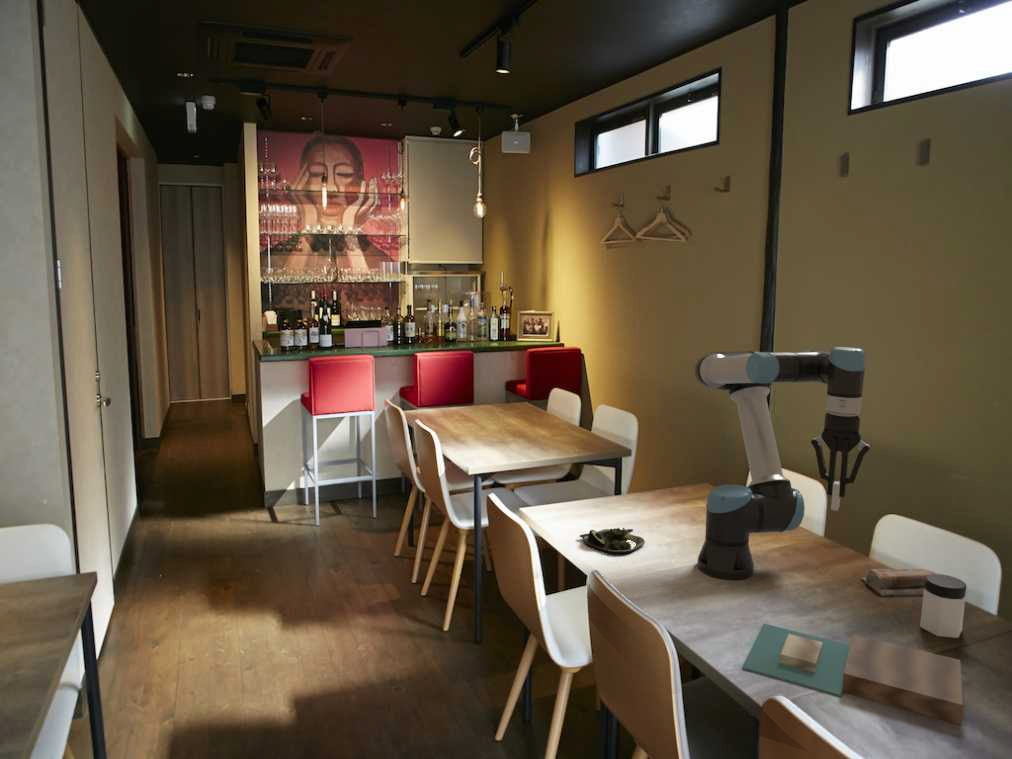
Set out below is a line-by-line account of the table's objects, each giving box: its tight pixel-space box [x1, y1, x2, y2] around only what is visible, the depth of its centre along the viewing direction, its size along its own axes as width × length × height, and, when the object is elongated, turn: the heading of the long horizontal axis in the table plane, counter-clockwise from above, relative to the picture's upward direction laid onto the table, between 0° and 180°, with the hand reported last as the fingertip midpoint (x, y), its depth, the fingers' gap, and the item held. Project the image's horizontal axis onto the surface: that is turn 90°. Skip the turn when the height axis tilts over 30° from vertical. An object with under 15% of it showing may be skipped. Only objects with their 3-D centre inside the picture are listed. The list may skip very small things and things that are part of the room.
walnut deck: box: [842, 634, 964, 726], centre depth 144 cm, size 20×18×4 cm
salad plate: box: [579, 527, 646, 556], centre depth 219 cm, size 19×18×5 cm
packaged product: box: [860, 568, 936, 597], centre depth 189 cm, size 18×5×10 cm
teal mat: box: [741, 623, 850, 697], centre depth 154 cm, size 19×22×1 cm
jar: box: [919, 573, 967, 639], centre depth 166 cm, size 9×8×12 cm
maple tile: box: [780, 634, 823, 672], centre depth 154 cm, size 7×10×2 cm
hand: (835, 508), depth 171 cm, fingers closed
